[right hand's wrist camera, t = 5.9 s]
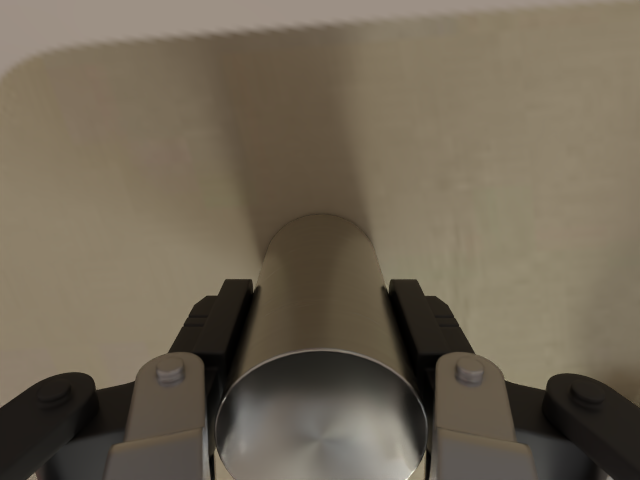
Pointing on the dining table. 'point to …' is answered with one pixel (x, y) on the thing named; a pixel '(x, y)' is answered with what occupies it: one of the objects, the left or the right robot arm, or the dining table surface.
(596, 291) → the dining table surface
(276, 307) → the tin
